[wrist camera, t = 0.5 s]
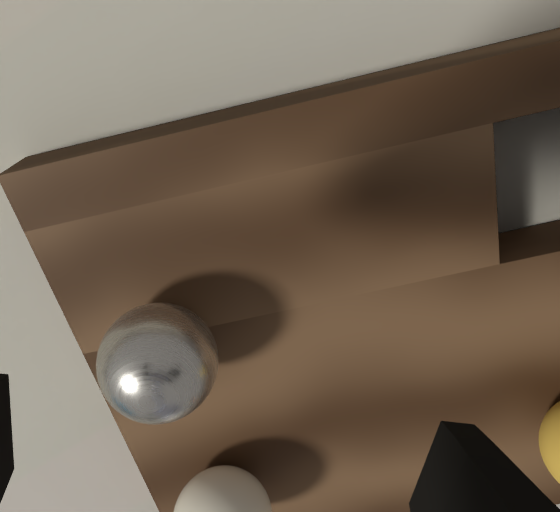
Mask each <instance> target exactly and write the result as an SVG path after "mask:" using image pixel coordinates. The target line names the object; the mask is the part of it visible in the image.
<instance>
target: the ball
mask: <svg viewBox="0 0 560 512" xmlns="http://www.w3.org/2000/svg"><path fill="white" fill-rule="evenodd" d="M539 448H540V453H541V456H542V459H543V461H544V463H545V465H546V467H547V469H548V471H549V472H550V473H551V475H552V476H553V477H554V478H555V479H556V481H557V482H558V483H559V484H560V401H559V402H558V403H556V404H555V405H554V406H553V407H551V408H550V410H549V411H548V412H547V413H546V415H545V416H544V418H543V420H542V423H541V426H540V430H539Z"/></svg>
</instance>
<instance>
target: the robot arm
mask: <svg viewBox="0 0 560 512" xmlns="http://www.w3.org/2000/svg"><path fill="white" fill-rule="evenodd" d="M13 470H14V459H13V443H12V426H11V410H10V394H9V377H8V374H0V502H1V500H2V498H3V495H4V493H5V490H6V488H7V485H8V483H9V480H10V478H11V475H12V473H13ZM409 507H410V512H560V509H559V508H558V507H557V506H556V505H555V504H554V503H553V502H552V501H551V500H550V499H549V498H548V497H547V496H546V495H545V494H544V493H543V492H542V491H541V490H540V489H539V488H538V487H537V486H536V485H535V484H534V483H533V482H532V481H531V480H530V479H529V478H528V477H527V476H526V475H525V474H524V473H523V472H522V471H521V470H520V469H519V468H518V467H517V466H516V465H515V464H514V463H513V462H512V461H511V460H510V459H509V458H508V457H507V456H506V454H505V453H504V452H503V451H502V450H501V449H500V448H499V447H498V446H497V445H496V444H495V443H494V442H493V441H492V440H490V439H489V438H488V437H487V436H486V435H485V434H484V433H483V432H482V431H481V430H480V429H479V428H478V427H477V426H476V425H475V424H468V423H458V422H449V421H441V422H440V424H439V427H438V429H437V432H436V435H435V437H434V440H433V442H432V445H431V447H430V450H429V453H428V455H427V458H426V460H425V463H424V466H423V468H422V471H421V473H420V476H419V479H418V481H417V484H416V486H415V489H414V491H413V494H412V497H411V499H410V502H409Z"/></svg>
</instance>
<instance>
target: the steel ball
mask: <svg viewBox="0 0 560 512" xmlns="http://www.w3.org/2000/svg"><path fill="white" fill-rule="evenodd" d="M218 364H219V356H218V349H217V345H216V341H215V339H214V337H213V334H212V333H211V331H210V329H209V328H208V326H207V325H206V324H205V322H204V321H203V320H202V319H201V318H200V317H198V316H197V315H196V314H195V313H193V312H192V311H190V310H188V309H186V308H184V307H182V306H179V305H175V304H171V303H161V302H160V303H149V304H145V305H142V306H138V307H136V308H133V309H131V310H130V311H128V312H126V313H125V314H123V315H122V316H121V317H119V318H118V319H117V320H116V321H115V322H114V323H113V324H112V325H111V326H110V327H109V329H108V330H107V332H106V333H105V335H104V337H103V339H102V341H101V343H100V346H99V349H98V353H97V360H96V374H97V380H98V383H99V386H100V389H101V391H102V393H103V395H104V397H105V398H106V400H107V401H108V403H109V404H110V405H111V406H112V407H113V408H114V409H115V410H116V411H117V412H119V413H120V414H121V415H123V416H125V417H126V418H128V419H130V420H133V421H136V422H139V423H143V424H152V425H156V424H165V423H170V422H174V421H177V420H179V419H181V418H183V417H185V416H187V415H189V414H190V413H192V412H193V411H194V410H195V409H196V408H198V407H199V406H200V405H201V404H202V403H203V402H204V400H205V399H206V398H207V396H208V395H209V393H210V391H211V390H212V388H213V385H214V383H215V380H216V377H217V372H218Z"/></svg>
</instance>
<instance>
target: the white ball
mask: <svg viewBox="0 0 560 512" xmlns="http://www.w3.org/2000/svg"><path fill="white" fill-rule="evenodd" d="M174 512H272V507H271V503H270V499H269V497H268V494H267V492H266V490H265V489H264V487H263V486H262V484H261V483H260V481H259V480H258V479H257V478H256V477H255V476H253V475H252V474H251V473H249V472H248V471H246V470H244V469H242V468H239V467H236V466H230V465H220V466H214V467H211V468H208V469H206V470H204V471H201V472H200V473H198V474H197V475H196V476H194V477H193V478H192V479H191V480H190V481H189V482H188V483H187V484H186V485H185V487H184V488H183V490H182V491H181V493H180V495H179V497H178V499H177V501H176V504H175V507H174Z"/></svg>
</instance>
